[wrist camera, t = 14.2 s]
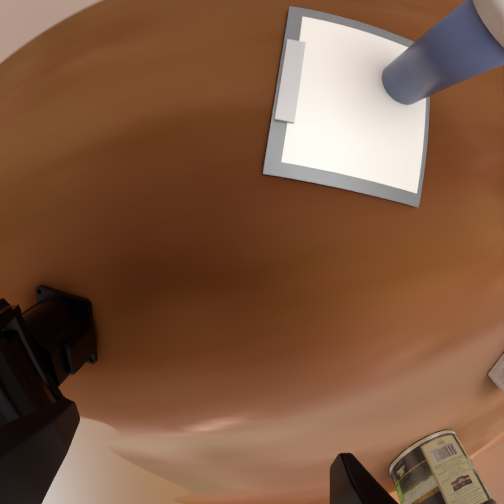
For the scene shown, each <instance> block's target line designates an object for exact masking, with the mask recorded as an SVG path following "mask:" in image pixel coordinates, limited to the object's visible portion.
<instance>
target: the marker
mask: <svg viewBox="0 0 504 504" xmlns="http://www.w3.org/2000/svg"><path fill="white" fill-rule="evenodd" d="M501 65H504V0H466V1H465V2H464V3H462V4H461V5H460V6H458V7H457V8H456V9H455V10H453V11H452V12H451V13H450V14H448V15H447V16H446V17H445V18H443V19H442V20H441V21H440V22H438V23H437V24H436V25H435V26H434V27H432V28H431V29H430V30H429V31H427V32H426V33H425V34H424V35H423V36H422V37H420V38H419V39H418V40H417V41H416V42H414V43H413V44H412V45H411V46H410V47H409V48H407V49H406V50H405V51H404V52H403V53H402V54H400V55H399V56H398V57H397V58H396V59H395V60H394V61H392V62H391V63H390V64H389V65H388V66H387V67H386V68H385V69H384V70H383V73H382V83H383V86H384V88H385V90H386V92H387V93H388V94H389V95H390V97H392V98H393V99H394V100H395V101H397V102H399V103H401V104H405V105H410V104H414V103H416V102H418V101H420V100H422V99H424V98H426V97H429V96H431V95H433V94H435V93H437V92H439V91H442V90H444V89H446V88H448V87H451V86H453V85H455V84H457V83H460V82H462V81H464V80H467V79H469V78H471V77H474V76H476V75H479V74H481V73H483V72H486V71H488V70H491V69H493V68H496V67H498V66H501Z"/></svg>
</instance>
